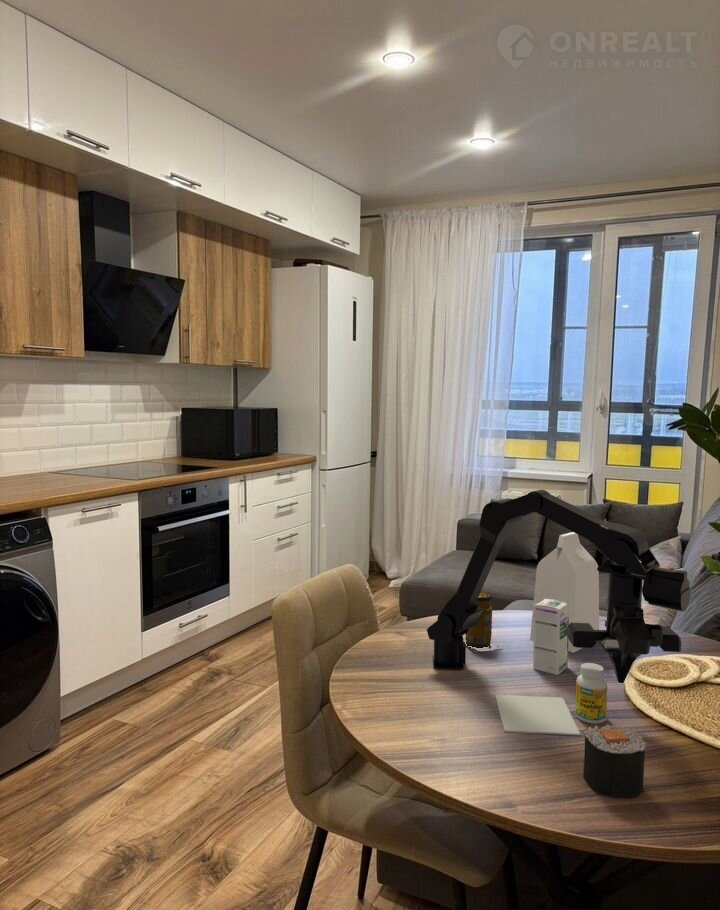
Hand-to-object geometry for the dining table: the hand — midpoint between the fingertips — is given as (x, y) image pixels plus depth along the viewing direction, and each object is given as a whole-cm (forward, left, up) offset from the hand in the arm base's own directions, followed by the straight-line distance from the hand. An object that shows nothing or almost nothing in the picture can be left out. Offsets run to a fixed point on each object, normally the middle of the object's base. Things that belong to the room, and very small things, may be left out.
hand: (620, 682), depth 122 cm
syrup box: (-8, +22, -7) cm, 24 cm away
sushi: (-7, -21, -7) cm, 23 cm away
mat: (-15, 0, -7) cm, 17 cm away
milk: (-1, +40, -7) cm, 41 cm away
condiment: (-22, +34, -7) cm, 41 cm away
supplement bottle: (-5, 0, -7) cm, 9 cm away
